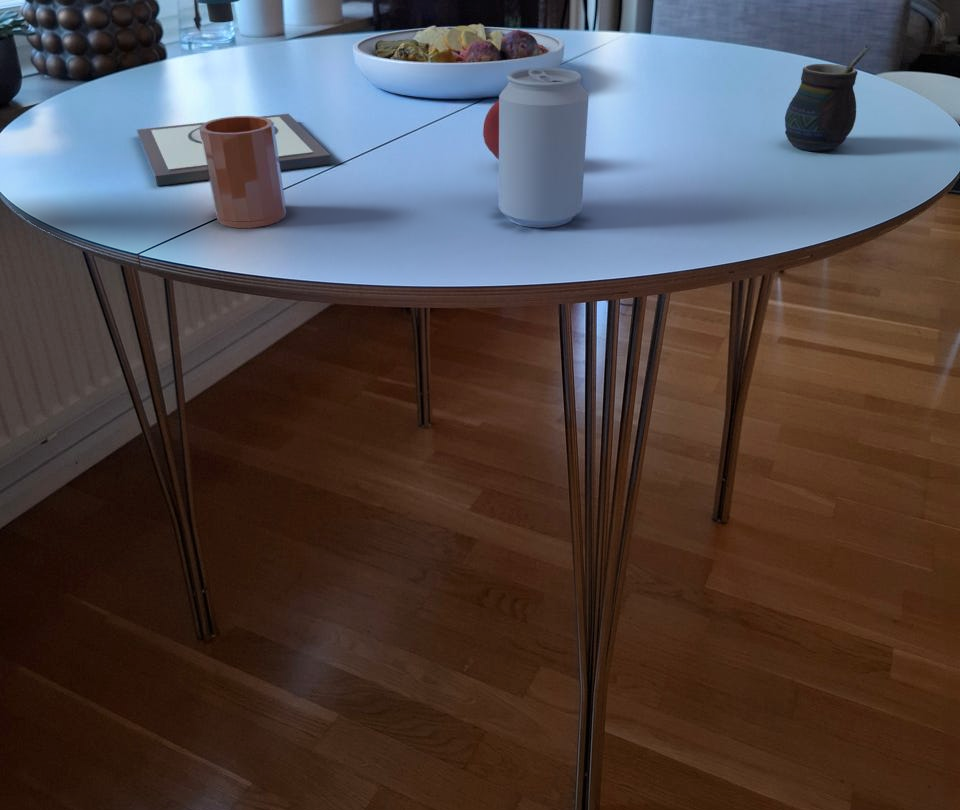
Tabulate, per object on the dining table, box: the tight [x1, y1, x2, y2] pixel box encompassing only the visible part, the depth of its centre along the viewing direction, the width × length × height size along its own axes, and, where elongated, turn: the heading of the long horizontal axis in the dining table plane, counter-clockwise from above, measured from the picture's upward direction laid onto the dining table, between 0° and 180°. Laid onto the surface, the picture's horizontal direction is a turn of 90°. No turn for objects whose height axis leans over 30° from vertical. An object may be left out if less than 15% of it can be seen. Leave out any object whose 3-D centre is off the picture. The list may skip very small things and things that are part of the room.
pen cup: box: [199, 115, 287, 229], centre depth 76 cm, size 6×6×8 cm
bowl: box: [352, 23, 565, 100], centre depth 123 cm, size 30×30×8 cm
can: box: [498, 68, 590, 229], centre depth 74 cm, size 8×8×12 cm
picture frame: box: [136, 113, 332, 187], centre depth 96 cm, size 18×20×1 cm
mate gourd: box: [784, 45, 872, 152], centre depth 93 cm, size 7×8×10 cm
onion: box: [482, 99, 499, 161], centre depth 88 cm, size 6×6×8 cm
